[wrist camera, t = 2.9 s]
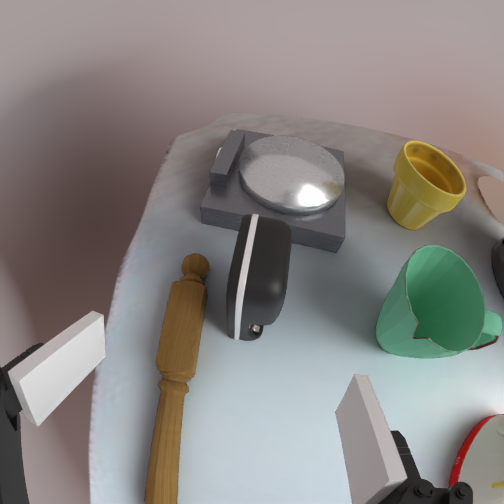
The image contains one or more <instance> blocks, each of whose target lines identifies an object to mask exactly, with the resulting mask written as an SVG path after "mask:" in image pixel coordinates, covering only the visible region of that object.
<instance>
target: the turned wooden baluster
mask: <svg viewBox="0 0 504 504" xmlns="http://www.w3.org/2000/svg"><path fill="white" fill-rule="evenodd" d="M209 268H210V267H209V263H208V261H207V259H206V258H205V257H204V256H202V255H200V254H191V255H188V256H186V257H185V259H184V261H183V263H182V272H183V274H184V275H185V276H184V277H183V278H181V280H180V281H175V282H174V283H172V286H171V290H170V295H169V299H168V304H167V308H166V313H165V317H164V322H163V327H162V332H161V337H160V342H159V347H158V352H157V358H156V366H157V369H158V370H159V371H160V374H161V375H162V377H163V379H162V380H160V381H159V383H158V386H159V387H160V389H161V393H160V398H159V404H158V409H157V415H156V420H155V426H154V432H153V439H152V445H151V452H150V459H149V466H148V473H147V481H146V490H145V499H144V501H145V504H177V497H178V473H179V455H180V440H181V427H182V415H183V404H184V395H185V394H186V393H187V392H189V388H188V386H187V384H186V382H187V381H189V380H191V378H192V377H194V375H195V371H196V364H197V357H198V351H199V344H200V338H201V332H202V325H203V319H204V313H205V307H206V301H207V289H206V287H205V286H204V283H203V282H202V280H201V279H203V278H205V276H206V275H207V273H208V271H209Z"/></svg>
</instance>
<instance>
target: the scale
mask: <svg viewBox="0 0 504 504" xmlns="http://www.w3.org/2000/svg"><path fill="white" fill-rule="evenodd" d="M209 175H210V186H209V188H208V190H207V192H206V195H205V197H204V199H203V201H202V203H201V206H200V209H201V217H202V223H204V224H208V225H213V226H218V227H223V228H227V229H232V230H237V231H239V229H240V224H241V221H242V218H243V216H244V215H246V214H249V215H253V214H258V215H259V216H261V217H267V218H273V219H278V220H282V221H284V222H285V223H287V224H288V225H289V227H290V229H291V232H292V240H291V242H292V243H296V244H300V245H305V246H309V247H314V248H318V249H322V250H327V251H331V252H335V253H337V251H338V249H339V247H340V246H341V244H342V242H343V241H344V239H345V176H344V154H343V152H342V151H338V150H334V149H330V148H326V147H323V146H319V145H317V144H315V143H313V142H311V141H308V140H305V139H301V138H297V137H291V136H273V135H268V134H262V133H257V132H251V131H245V130H238V129H237V130H236V131H232V130H231V131H230V133H229V135H228V136H227V138H226V140H225V142H224V144H223V146H222V147H220V148H219V150H218V152H217V155H216V159H215V162H214V164H213V166H212V168H211V170H210V172H209Z"/></svg>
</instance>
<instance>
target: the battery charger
mask: <svg viewBox="0 0 504 504" xmlns="http://www.w3.org/2000/svg"><path fill="white" fill-rule="evenodd" d="M291 240H292V232H291V229H290V227H289V225H288V224H287V223H285V222H284V221H282V220H278V219H273V218H267V217H261V216H259V215H258V214H253V215H249V214H246V215H244V216H243V218H242V221H241V224H240V229H239V233H238V237H237V241H236V246H235V250H234V255H233V259H232V264H231V268H230V273H229V278H228V284H227V294H226V308H227V324H228V336H229V337H230V338H233V339H234V340H244V341H252V340H256V339H258V338H259V337H260V336H261V334H262V331H263V326H264V325H269V324H272V323H273V322H274V321H275V320H276V318H277V317H278V316H279V314H280V311H281V309H282V306H283V302H284V299H285V295H286V289H287V280H288V271H289V261H290V251H291Z"/></svg>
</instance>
